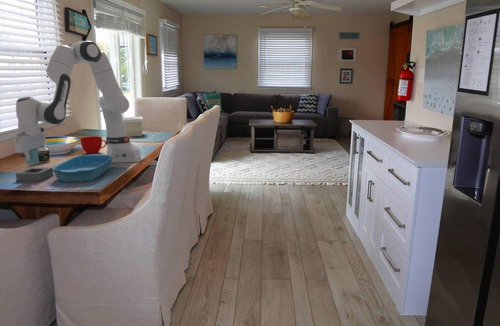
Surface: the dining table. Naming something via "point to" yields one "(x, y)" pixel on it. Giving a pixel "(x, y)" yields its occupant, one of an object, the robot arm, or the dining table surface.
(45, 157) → the medicine bottle
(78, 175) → the casserole dish
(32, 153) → the block
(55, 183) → the dining table surface
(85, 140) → the ceramic cup
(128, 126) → the storage basket
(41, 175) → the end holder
